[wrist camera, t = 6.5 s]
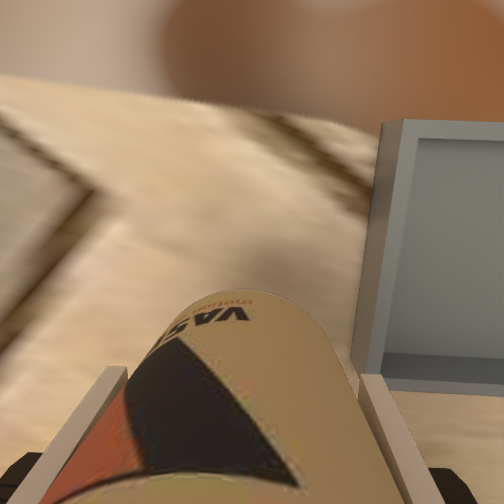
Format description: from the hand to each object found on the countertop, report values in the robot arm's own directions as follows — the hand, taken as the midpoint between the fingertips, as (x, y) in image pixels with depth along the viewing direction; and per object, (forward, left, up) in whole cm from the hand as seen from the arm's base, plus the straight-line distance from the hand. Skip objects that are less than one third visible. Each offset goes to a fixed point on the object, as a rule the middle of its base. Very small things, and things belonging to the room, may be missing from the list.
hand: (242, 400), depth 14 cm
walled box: (0, -21, -20) cm, 29 cm away
